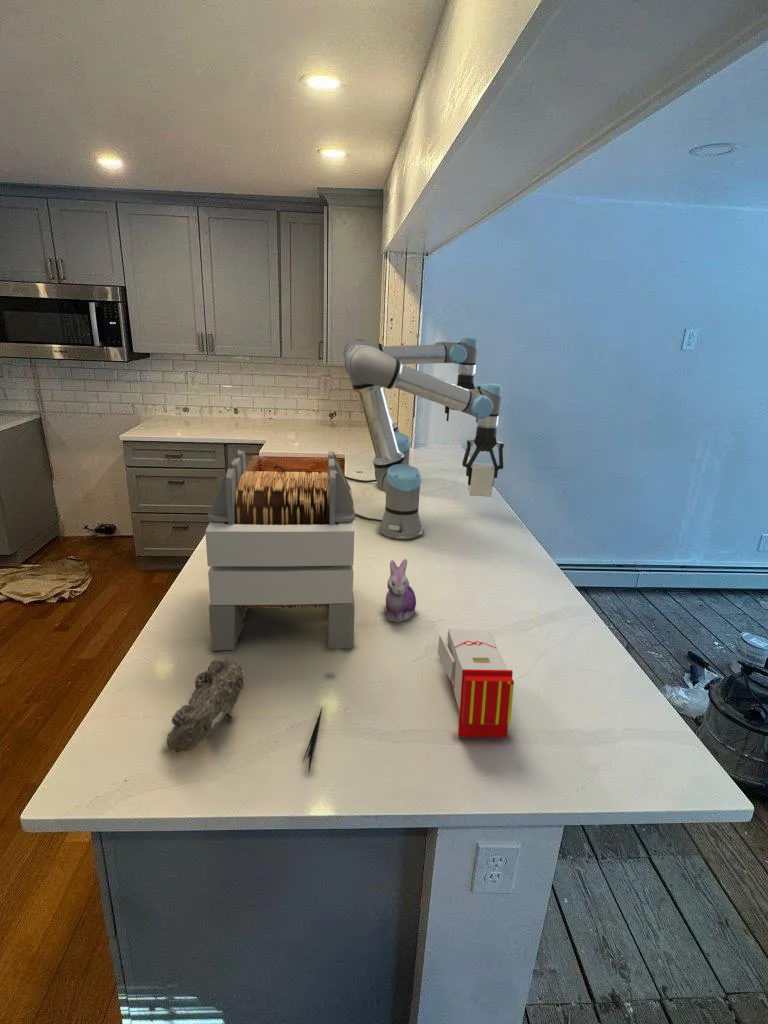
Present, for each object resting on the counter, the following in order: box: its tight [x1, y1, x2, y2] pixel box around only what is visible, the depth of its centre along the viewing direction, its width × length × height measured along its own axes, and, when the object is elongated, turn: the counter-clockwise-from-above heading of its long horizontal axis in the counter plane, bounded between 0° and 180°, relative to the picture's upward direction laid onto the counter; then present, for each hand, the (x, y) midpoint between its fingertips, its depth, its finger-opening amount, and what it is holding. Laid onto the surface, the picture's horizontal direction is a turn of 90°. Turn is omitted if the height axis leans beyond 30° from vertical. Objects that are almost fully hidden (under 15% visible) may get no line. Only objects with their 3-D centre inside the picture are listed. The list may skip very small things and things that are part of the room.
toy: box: [437, 628, 515, 738], centre depth 117 cm, size 12×13×30 cm
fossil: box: [166, 658, 245, 754], centre depth 106 cm, size 22×10×15 cm
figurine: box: [384, 558, 417, 623], centre depth 145 cm, size 9×10×15 cm
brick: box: [467, 462, 495, 498], centre depth 217 cm, size 9×8×11 cm
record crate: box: [204, 449, 356, 652], centre depth 138 cm, size 34×33×41 cm
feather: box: [301, 673, 332, 771], centre depth 108 cm, size 2×28×2 cm
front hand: (480, 485), depth 217 cm, fingers closed on brick, 8 cm apart
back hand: (462, 421), depth 261 cm, fingers open, 13 cm apart
